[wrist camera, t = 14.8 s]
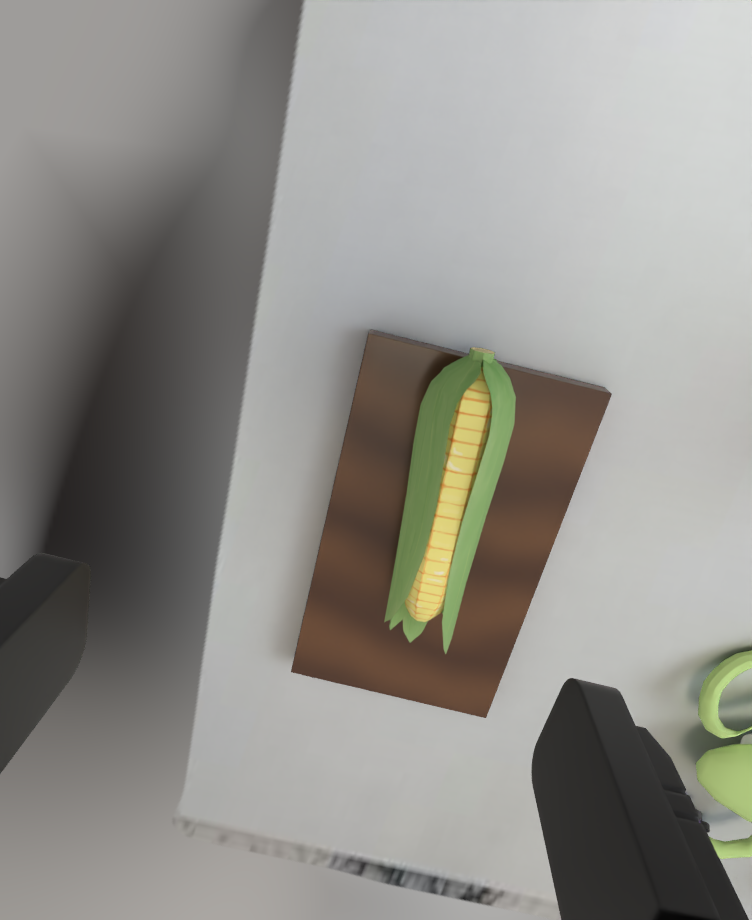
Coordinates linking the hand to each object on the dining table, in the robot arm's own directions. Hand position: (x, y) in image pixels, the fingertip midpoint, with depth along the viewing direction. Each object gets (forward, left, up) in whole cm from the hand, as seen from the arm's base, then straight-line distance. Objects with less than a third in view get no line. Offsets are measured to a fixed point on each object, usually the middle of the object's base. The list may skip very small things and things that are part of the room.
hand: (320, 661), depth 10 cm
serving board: (+9, -8, -27) cm, 29 cm away
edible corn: (+8, -5, -26) cm, 27 cm away
